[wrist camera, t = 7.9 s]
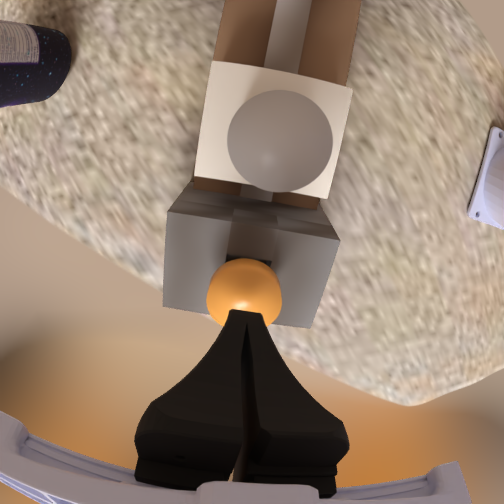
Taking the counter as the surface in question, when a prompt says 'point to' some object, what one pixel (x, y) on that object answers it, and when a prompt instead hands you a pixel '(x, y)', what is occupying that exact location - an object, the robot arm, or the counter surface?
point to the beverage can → (31, 62)
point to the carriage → (271, 129)
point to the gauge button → (244, 290)
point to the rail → (249, 196)
